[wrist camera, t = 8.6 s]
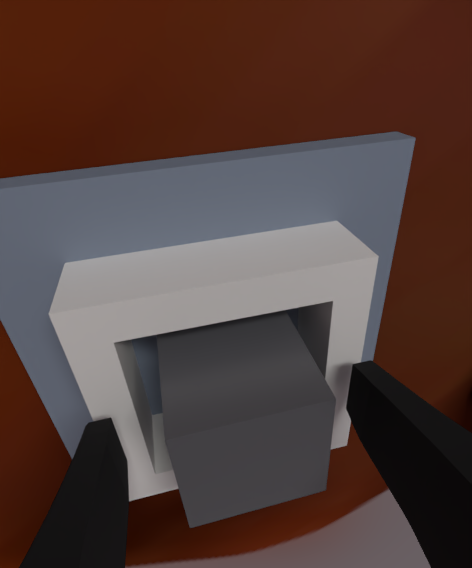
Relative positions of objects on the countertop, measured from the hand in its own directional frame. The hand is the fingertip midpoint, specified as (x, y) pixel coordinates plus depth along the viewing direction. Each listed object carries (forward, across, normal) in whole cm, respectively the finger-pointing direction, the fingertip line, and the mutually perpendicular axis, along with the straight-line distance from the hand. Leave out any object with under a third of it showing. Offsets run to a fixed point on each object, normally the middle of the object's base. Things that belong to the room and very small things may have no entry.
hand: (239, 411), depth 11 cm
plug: (+3, 0, 0) cm, 3 cm away
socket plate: (+4, 0, 0) cm, 4 cm away
